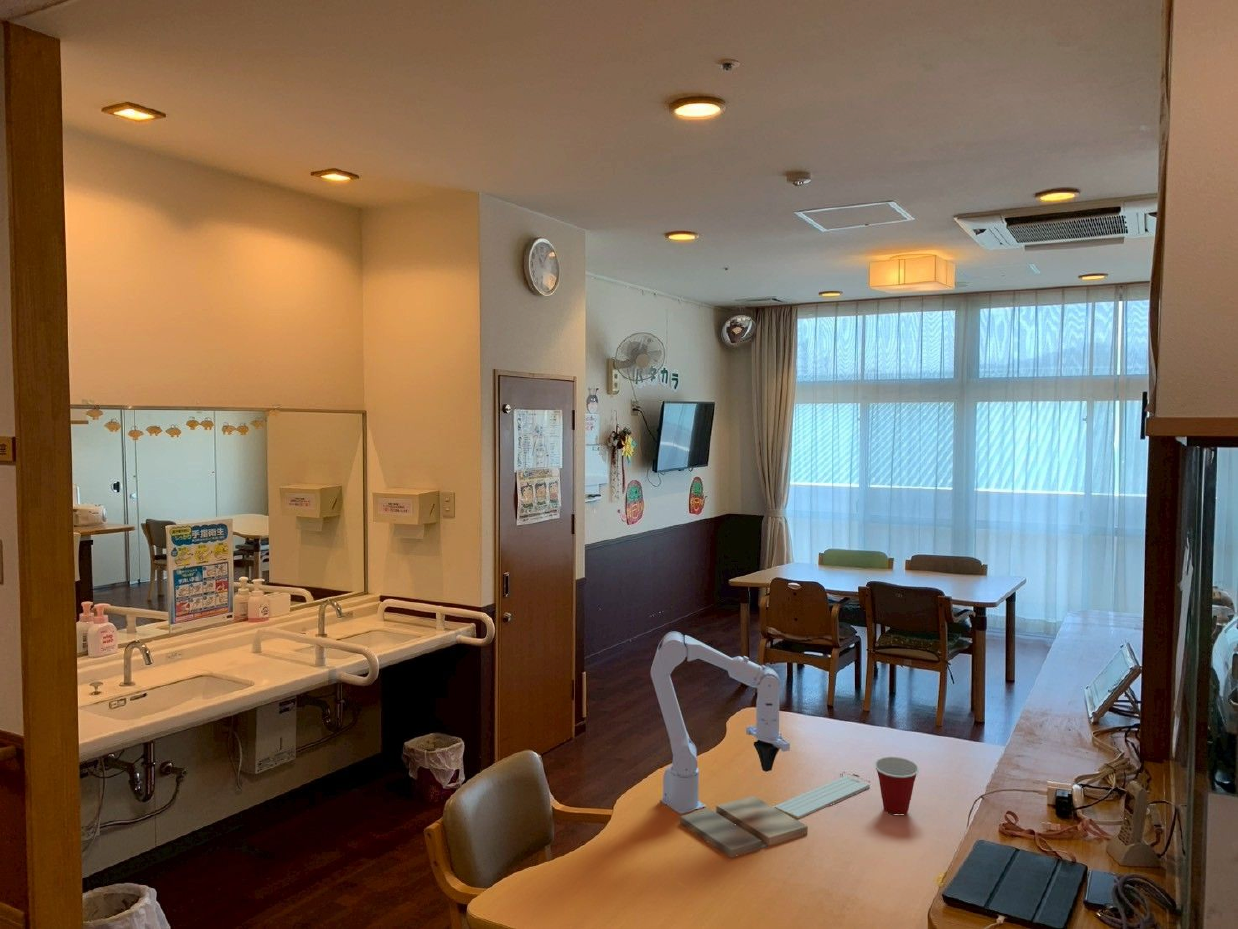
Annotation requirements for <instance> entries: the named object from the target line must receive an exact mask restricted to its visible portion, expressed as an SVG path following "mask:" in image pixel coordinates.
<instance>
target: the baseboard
mask: <svg viewBox="0 0 1238 929" xmlns="http://www.w3.org/2000/svg"><path fill="white" fill-rule="evenodd" d="M844 774H846V771H843V773H839V775H840V777H839V778H837V779H835V780H832V781H830V782H828V783H825V784H823V785H821V786H818V787H816V788H814V789H811V790H810V791H807V792H804V793H803V794H799V795H797V796H795V797H792V798H790V799H788V800H786V801H784V802H781V803H778V804H777V805H774V806H773V807H774V808H776V809H778V810H780V811H781V812H783V813H785V814H787V815H788V816H789V815H790V817H792V818H794V819H796V820H799V818H800V819H801V818H804V817H806V815H807V814H809V815H811V814H813V813H815V812H817V810H818V811H819V810H822V809H824V808H827V807H830V806H829V805H831V804H833V803H835V804H836V803H839V802H842V801H844V800H846V799H848V798H850V796H851V797H853V796H855V795H857V794H860V793H862V792H864V791H866V790H868V789H870V788H871V787H870V786H871V784H870V783H871V781H870V780H869V781H868V780H867V782H868V783H866V782H865V781H864V782H863V781H860V780H862V778H861V777H860V775H858V774H855V773H853V774H849V773H848V775H850V776H852V777H853V778H852V777H850V776H848V775H847V776H843V775H844ZM854 777H856V778H858V779H860V780H858V779H855V778H854ZM867 788H868V789H867ZM865 789H866V790H865ZM863 790H864V791H863ZM861 791H862V792H861ZM859 792H860V793H859ZM856 793H857V794H856ZM854 794H855V795H854ZM852 795H853V796H852ZM845 798H846V799H845ZM843 799H844V800H843ZM841 800H842V801H841ZM838 801H839V802H838ZM833 805H834V804H833ZM831 806H832V805H831ZM803 816H804V817H803ZM807 816H808V815H807Z"/></svg>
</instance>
